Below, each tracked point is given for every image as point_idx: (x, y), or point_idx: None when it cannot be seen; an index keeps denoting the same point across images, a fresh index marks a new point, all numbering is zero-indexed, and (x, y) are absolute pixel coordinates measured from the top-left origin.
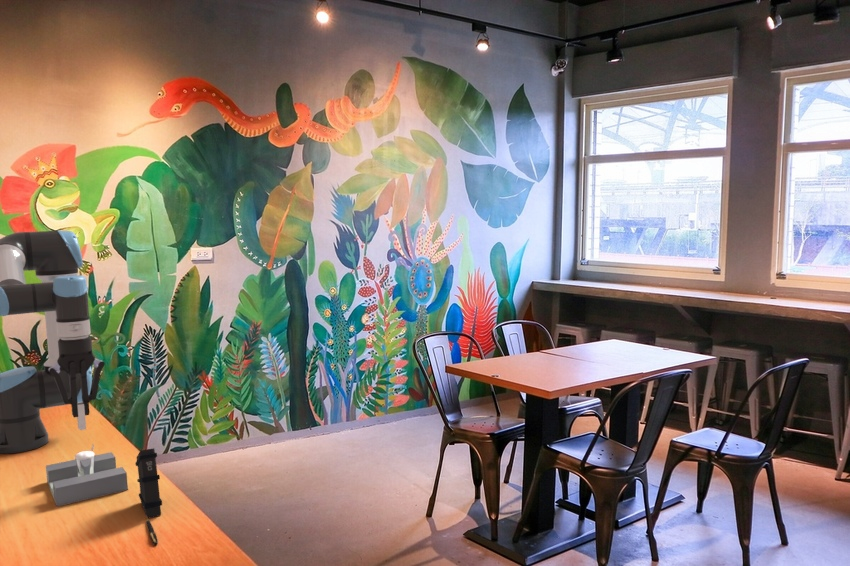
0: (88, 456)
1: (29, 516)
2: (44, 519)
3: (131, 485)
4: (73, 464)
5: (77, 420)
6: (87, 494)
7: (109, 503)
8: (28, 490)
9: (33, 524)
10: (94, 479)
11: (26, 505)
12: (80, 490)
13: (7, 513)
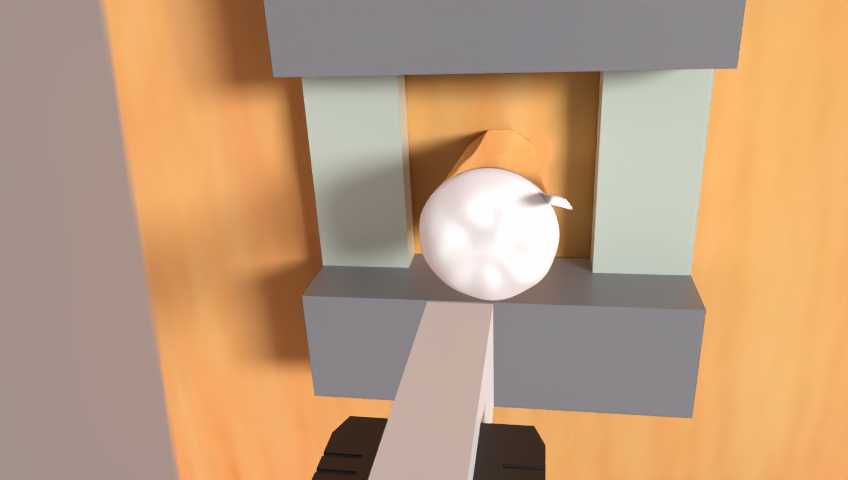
0: (505, 297)
1: (237, 370)
2: (294, 435)
3: (711, 309)
4: (434, 40)
5: (412, 347)
6: None
7: (552, 451)
8: (203, 16)
9: (257, 452)
10: (509, 403)
11: (214, 238)
12: None
13: (147, 280)
